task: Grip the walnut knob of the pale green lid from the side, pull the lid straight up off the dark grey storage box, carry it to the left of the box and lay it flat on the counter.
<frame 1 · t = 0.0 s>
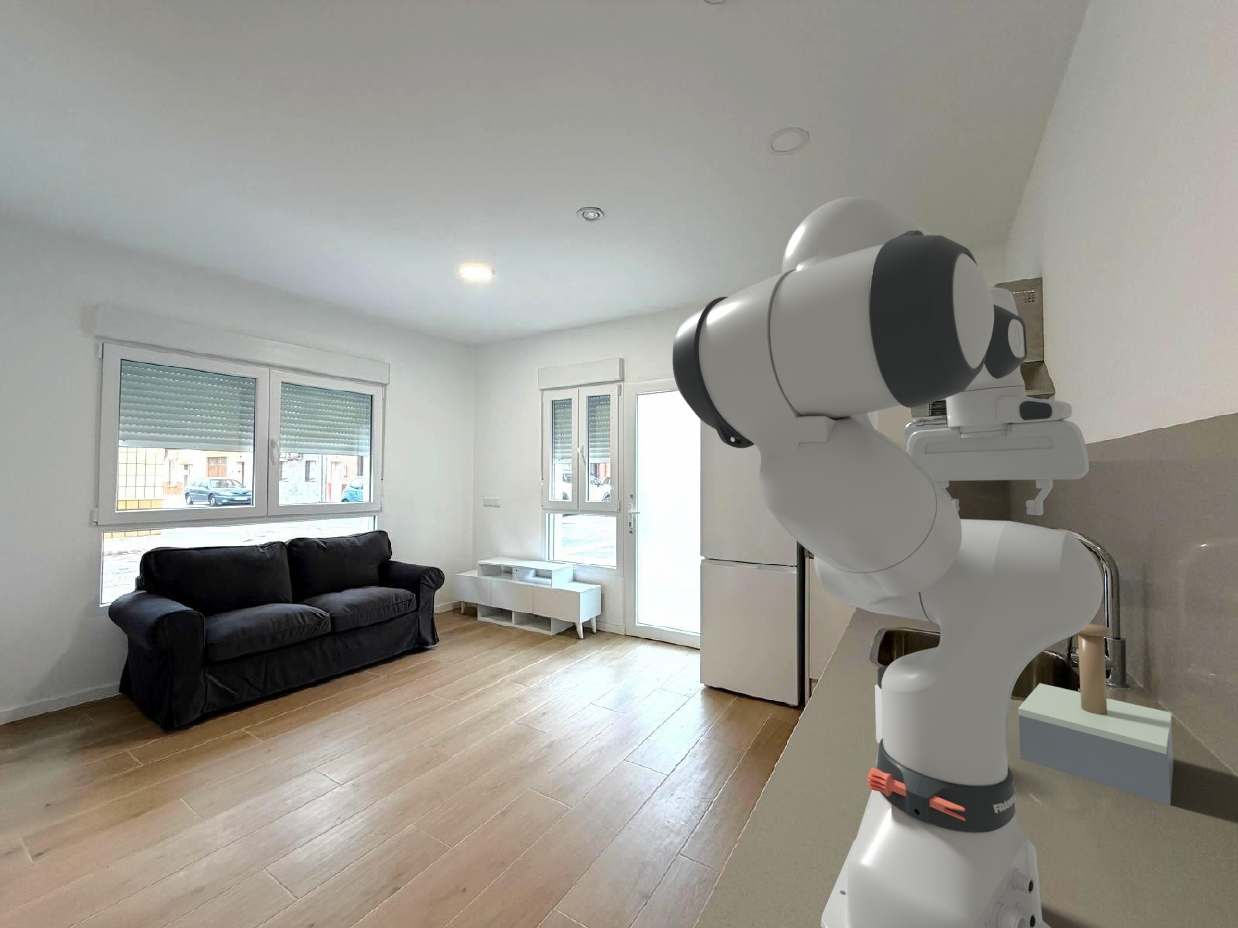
hand: (991, 513, 70), 39 cm above the counter, tool pointing down, fingers open, 8 cm apart
lid: (1094, 723, 80), point 6 cm above the counter, touching box
box: (1096, 763, 80), on the counter, touching lid
jar: (906, 749, 83), on the counter
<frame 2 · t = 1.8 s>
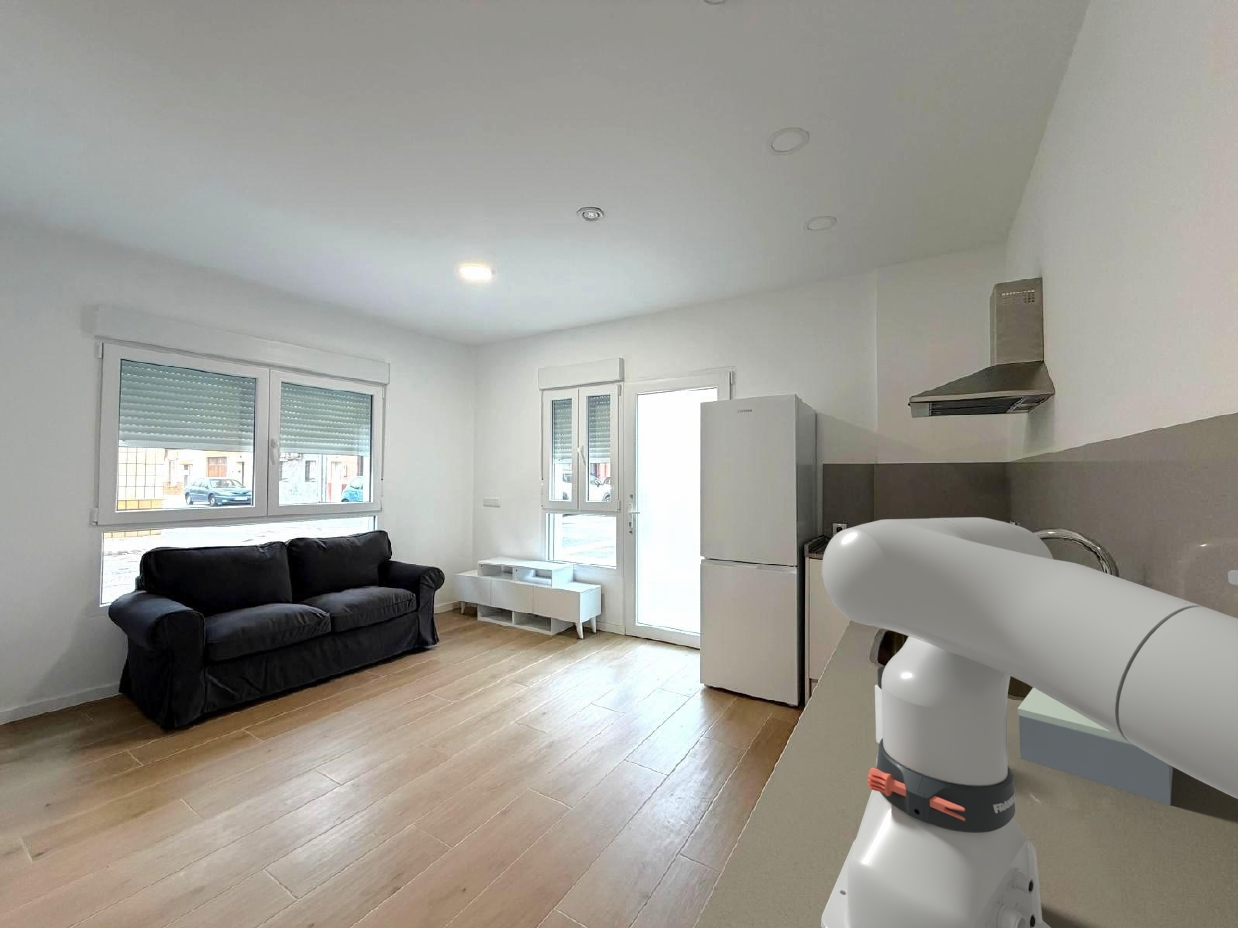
nothing on the counter moved.
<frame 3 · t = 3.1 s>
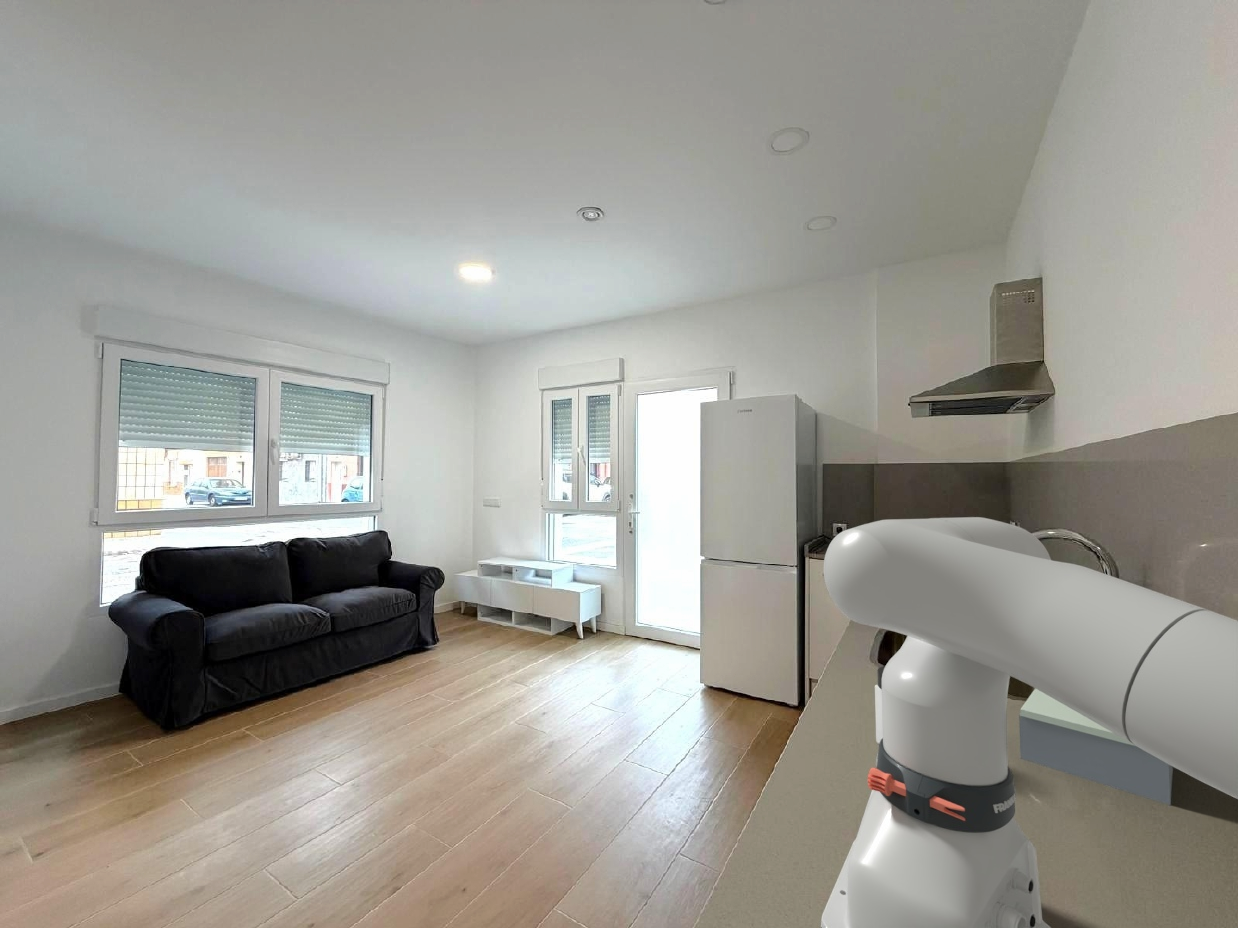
hand: (1219, 675, 69), 17 cm above the counter, tool horizontal, fingers open, 8 cm apart
nothing on the counter moved.
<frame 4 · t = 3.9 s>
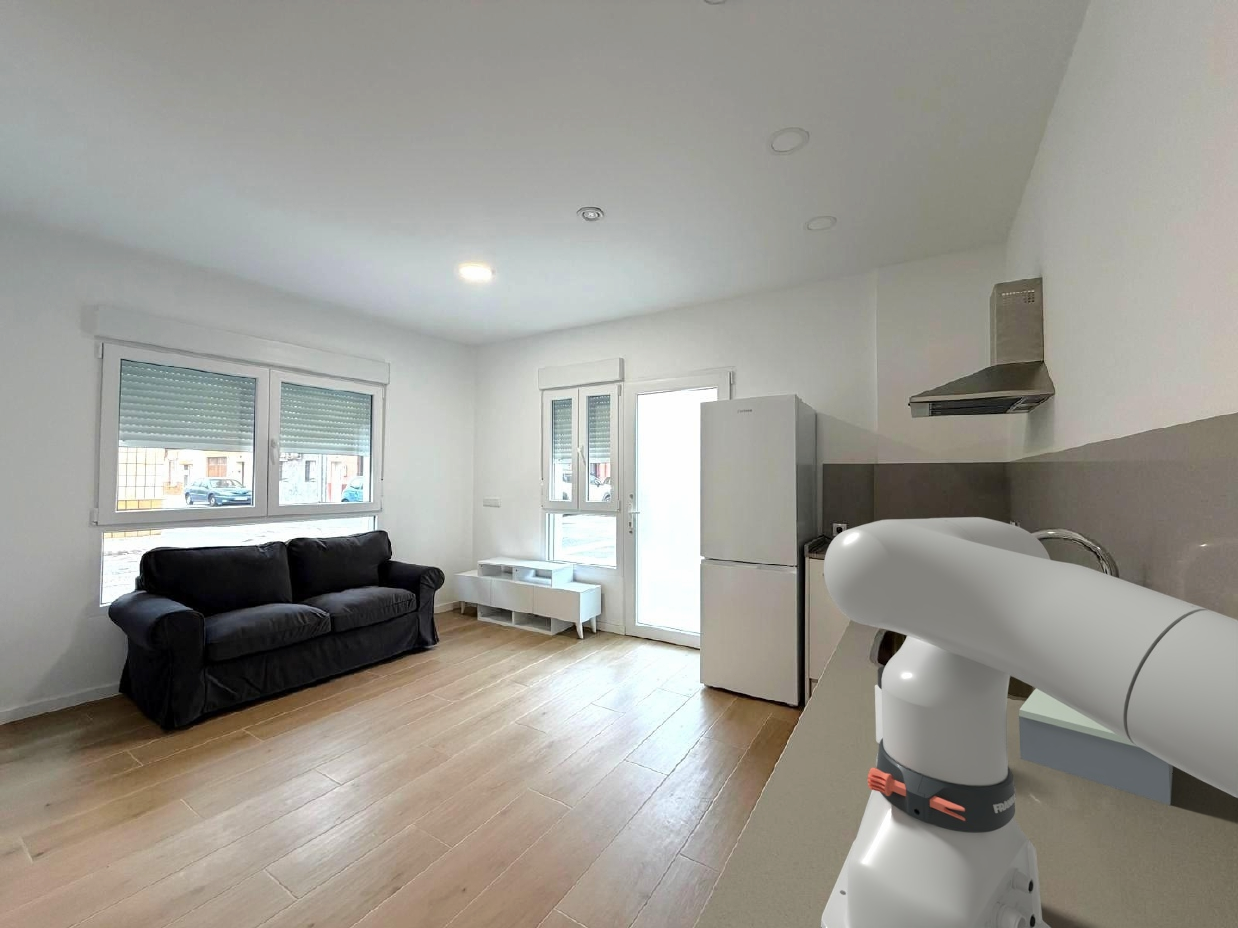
hand: (1200, 678, 71), 16 cm above the counter, tool horizontal, fingers open, 8 cm apart
nothing on the counter moved.
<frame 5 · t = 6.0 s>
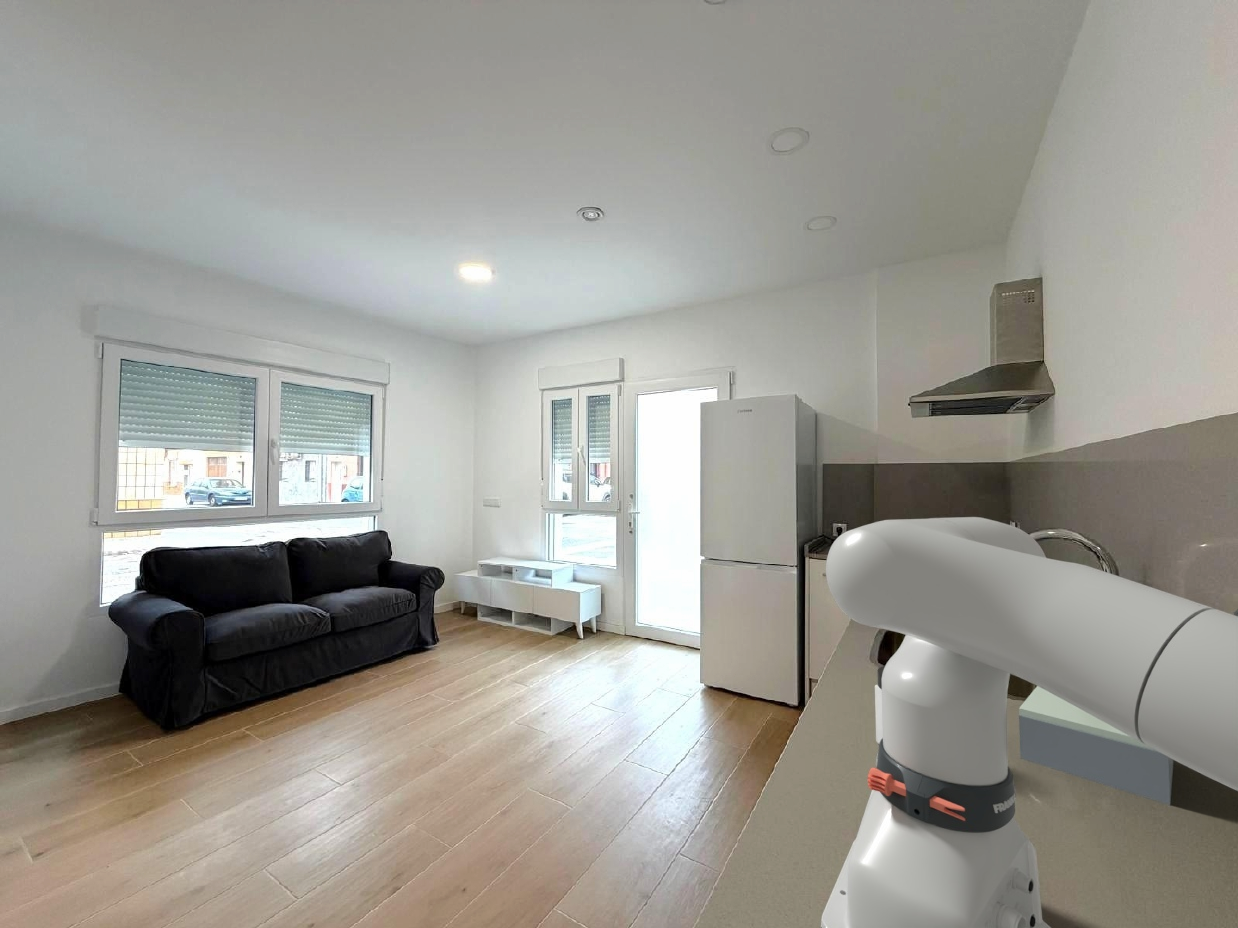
hand: (1084, 654, 81), 16 cm above the counter, tool horizontal, fingers open, 8 cm apart
nothing on the counter moved.
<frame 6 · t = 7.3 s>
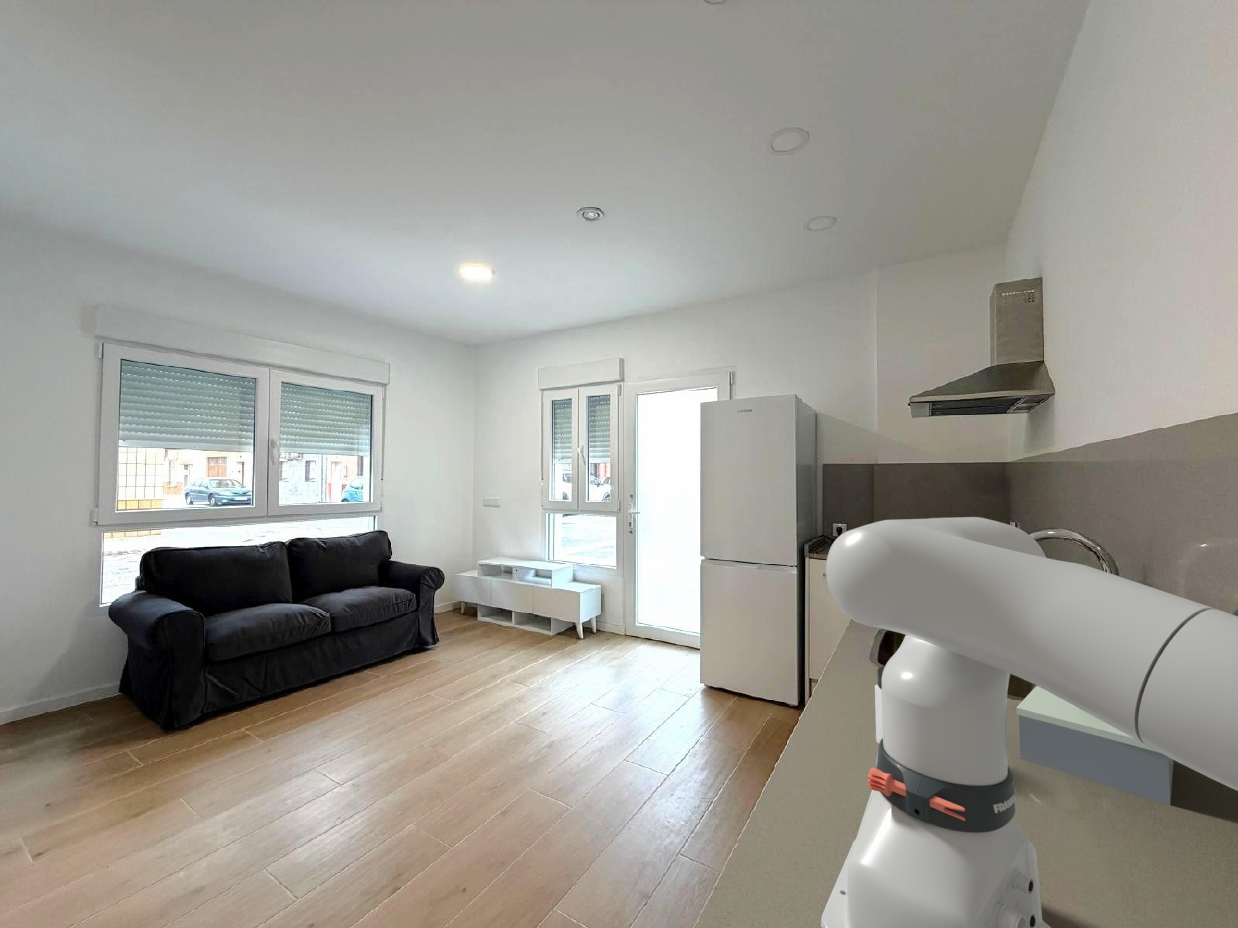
hand: (1084, 654, 81), 16 cm above the counter, tool horizontal, fingers closed on lid, 3 cm apart
lid: (1093, 722, 80), point 6 cm above the counter, touching gripper
box: (1096, 763, 80), on the counter
everything else where it was.
when the fingers open (11 cm above the counter, at t = 13.8 s): lid drops 1 cm, on the counter.
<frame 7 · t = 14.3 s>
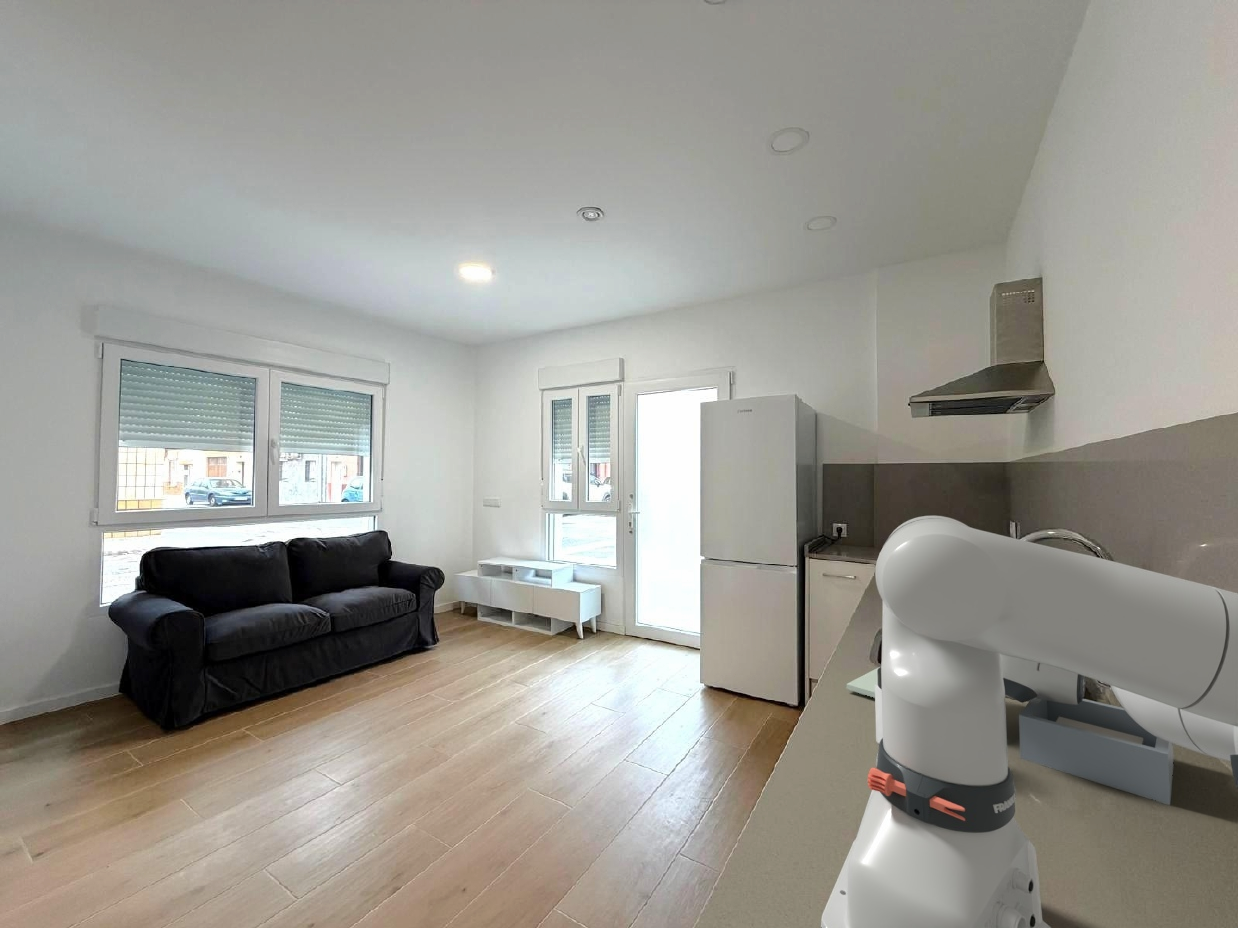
hand: (898, 636, 106), 11 cm above the counter, tool horizontal, fingers open, 8 cm apart
lid: (903, 695, 105), on the counter
everything else where it was.
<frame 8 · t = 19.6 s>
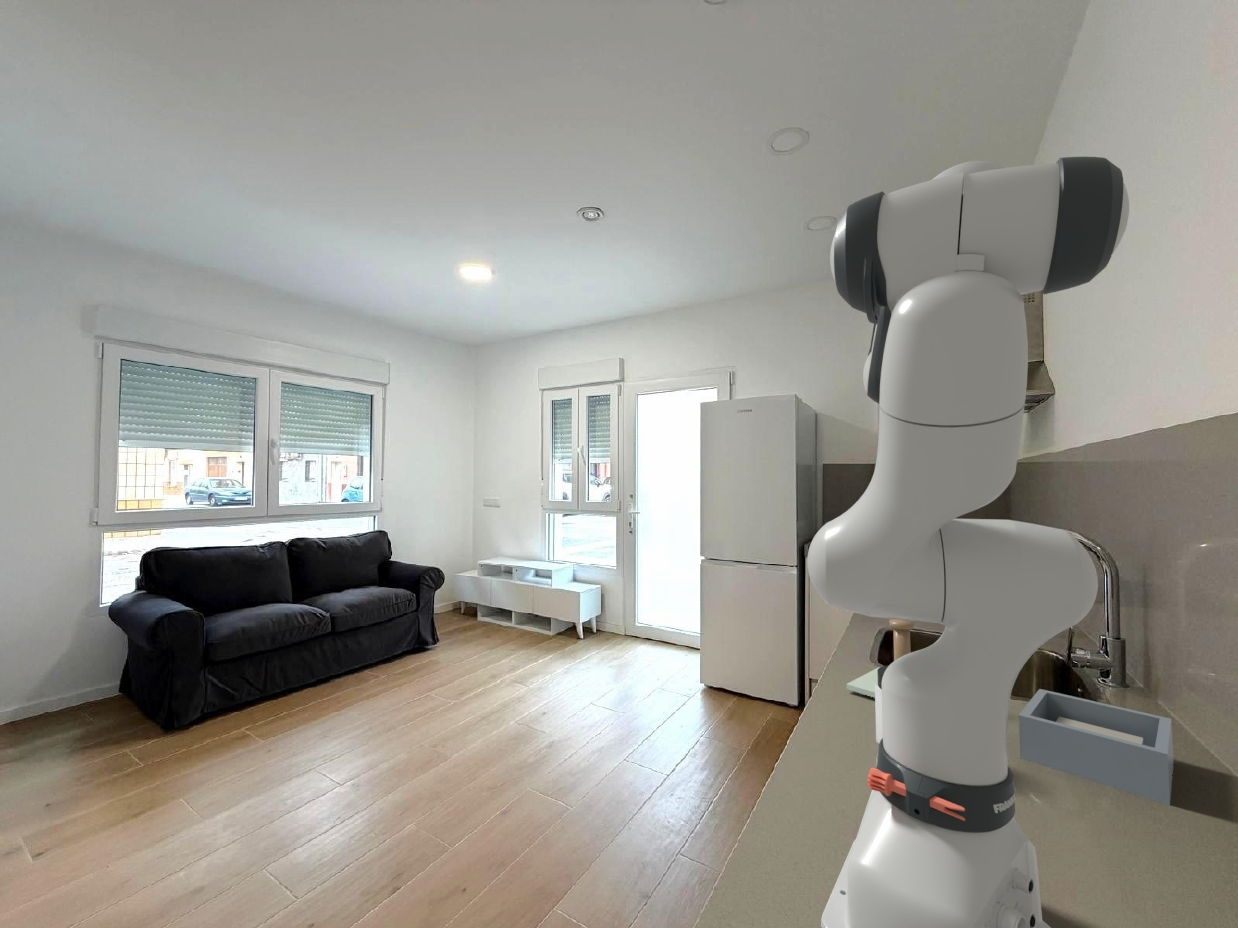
hand: (957, 507, 86), 39 cm above the counter, tool pointing down, fingers open, 8 cm apart
nothing on the counter moved.
at the end: lid inside the target area (0.3 cm from its centre), on the counter; lid tilted 0°; box moved 0.4 cm from its start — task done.
